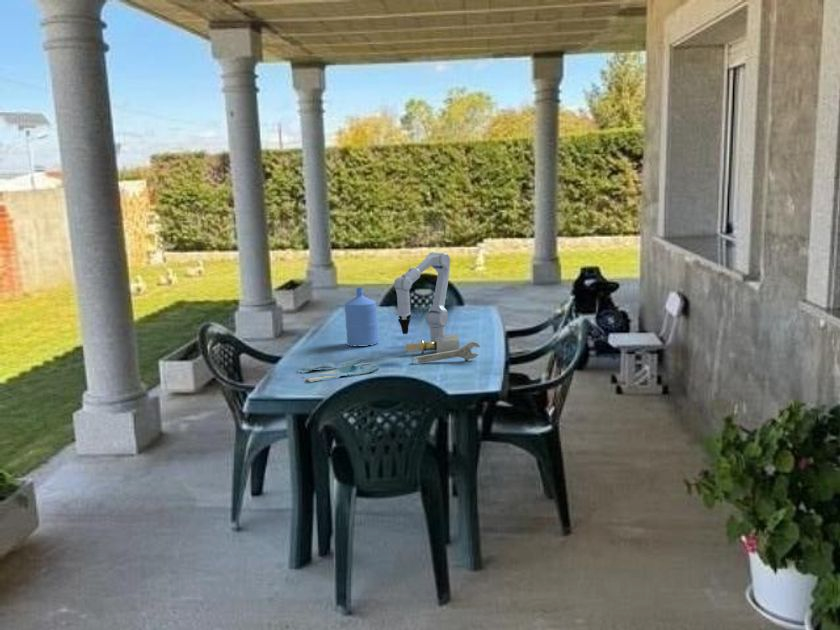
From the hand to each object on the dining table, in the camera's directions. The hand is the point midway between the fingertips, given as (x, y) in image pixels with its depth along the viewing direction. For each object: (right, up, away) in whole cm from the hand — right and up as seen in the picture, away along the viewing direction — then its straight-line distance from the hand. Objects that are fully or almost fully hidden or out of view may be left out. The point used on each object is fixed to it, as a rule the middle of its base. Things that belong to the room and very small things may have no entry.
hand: (405, 332), depth 354 cm
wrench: (+18, -13, -22) cm, 31 cm away
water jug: (-21, -7, +25) cm, 34 cm away
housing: (+20, -9, -4) cm, 22 cm away
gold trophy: (+8, -10, -4) cm, 13 cm away
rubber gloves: (-28, -17, -27) cm, 42 cm away
